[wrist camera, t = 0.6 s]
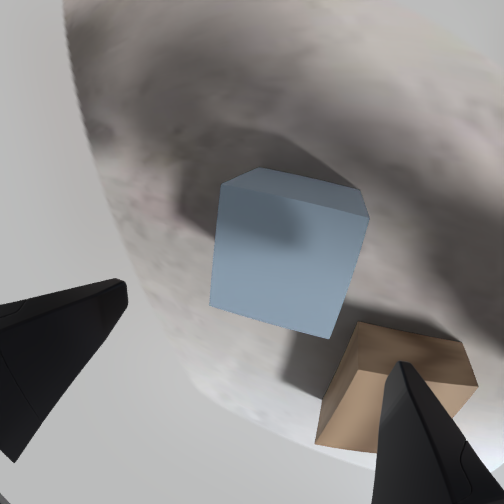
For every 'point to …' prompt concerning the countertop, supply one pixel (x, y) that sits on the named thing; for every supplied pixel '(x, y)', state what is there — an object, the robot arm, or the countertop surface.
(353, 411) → the tan flat block
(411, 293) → the countertop surface
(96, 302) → the robot arm
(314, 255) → the slate-blue cube
